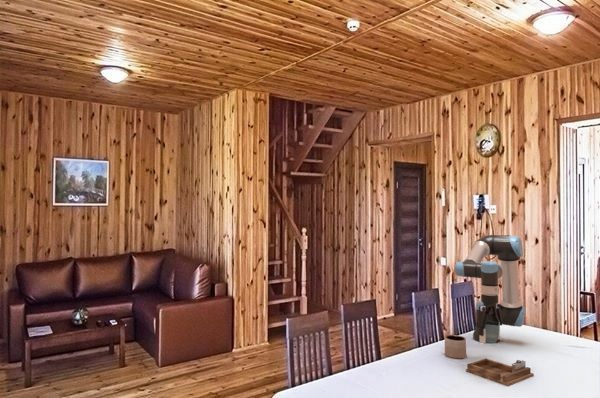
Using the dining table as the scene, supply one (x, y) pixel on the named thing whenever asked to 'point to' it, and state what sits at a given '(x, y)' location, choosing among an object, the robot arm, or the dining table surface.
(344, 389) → the dining table surface
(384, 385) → the dining table surface
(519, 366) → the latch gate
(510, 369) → the frame
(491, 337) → the flower pot
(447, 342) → the planter
